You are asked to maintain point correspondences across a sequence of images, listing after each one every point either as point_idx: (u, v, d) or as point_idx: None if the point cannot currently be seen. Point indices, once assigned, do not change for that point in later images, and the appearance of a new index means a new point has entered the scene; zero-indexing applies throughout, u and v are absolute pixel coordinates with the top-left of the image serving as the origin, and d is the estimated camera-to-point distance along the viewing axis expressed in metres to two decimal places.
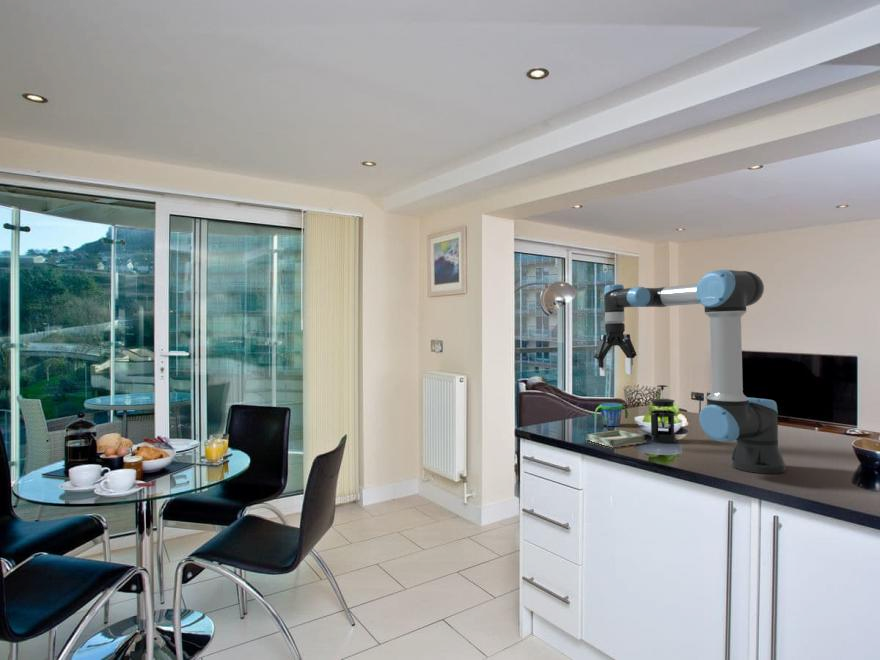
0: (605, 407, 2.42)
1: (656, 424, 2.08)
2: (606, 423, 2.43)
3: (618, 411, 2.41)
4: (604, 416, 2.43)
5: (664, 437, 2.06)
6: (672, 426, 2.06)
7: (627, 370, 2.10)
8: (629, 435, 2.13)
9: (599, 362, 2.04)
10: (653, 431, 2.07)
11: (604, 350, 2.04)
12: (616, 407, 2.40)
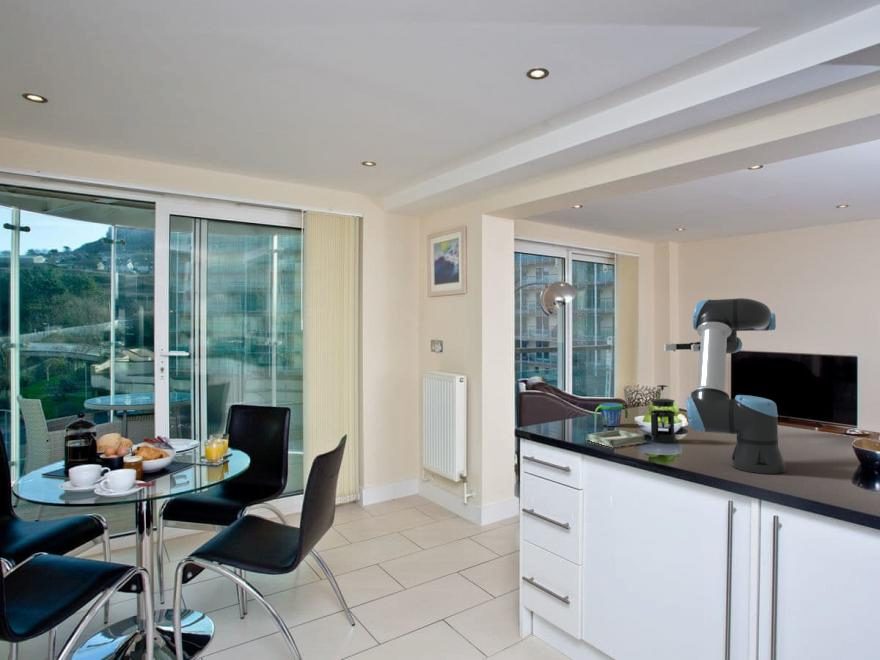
0: (605, 407, 2.42)
1: (656, 424, 2.08)
2: (606, 423, 2.43)
3: (618, 411, 2.41)
4: (604, 416, 2.43)
5: (664, 437, 2.06)
6: (672, 426, 2.06)
7: None
8: (629, 435, 2.13)
9: None
10: (653, 431, 2.07)
11: None
12: (616, 407, 2.40)
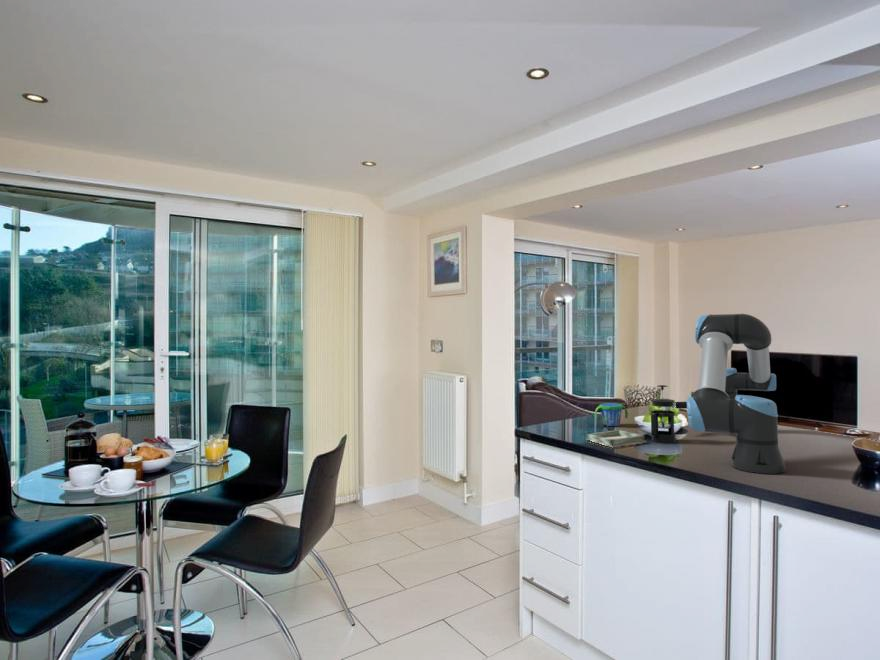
0: (605, 407, 2.42)
1: (656, 424, 2.08)
2: (606, 423, 2.43)
3: (618, 411, 2.41)
4: (604, 416, 2.43)
5: (664, 437, 2.06)
6: (672, 426, 2.06)
7: None
8: (629, 435, 2.13)
9: None
10: (653, 431, 2.07)
11: None
12: (616, 407, 2.40)
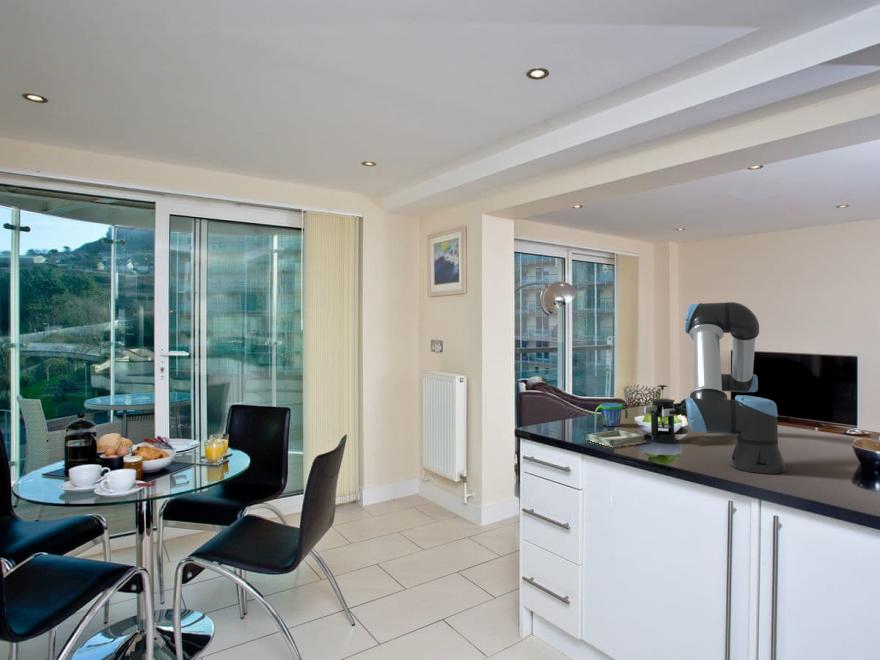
0: (605, 407, 2.42)
1: (656, 424, 2.08)
2: (606, 423, 2.43)
3: (618, 411, 2.41)
4: (604, 416, 2.43)
5: (664, 437, 2.06)
6: (672, 426, 2.06)
7: None
8: (629, 435, 2.13)
9: None
10: (653, 431, 2.07)
11: None
12: (616, 407, 2.40)
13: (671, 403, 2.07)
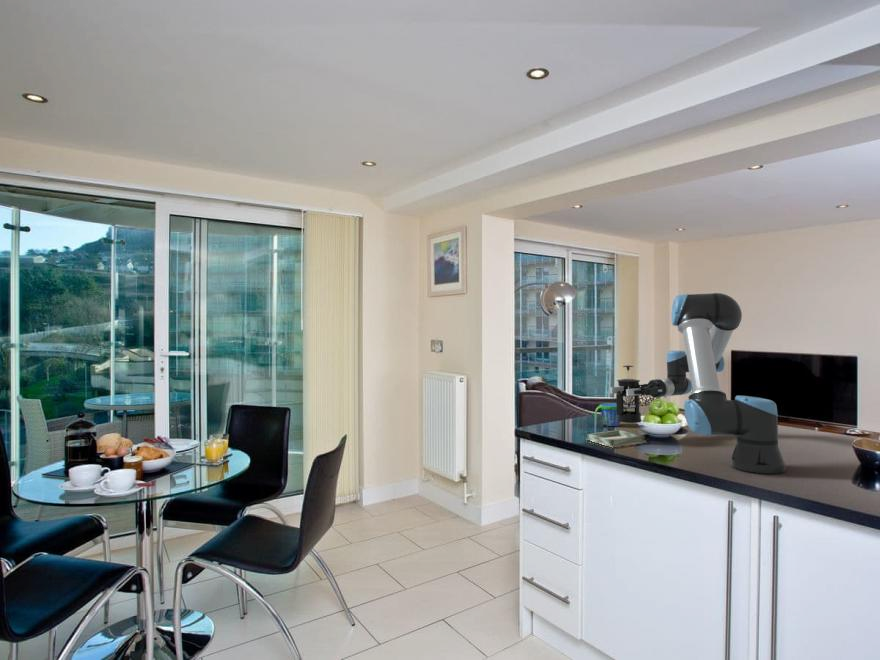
0: (605, 407, 2.42)
1: (621, 404, 2.09)
2: (606, 423, 2.43)
3: None
4: (604, 416, 2.43)
5: (629, 417, 2.07)
6: (637, 406, 2.07)
7: None
8: (629, 435, 2.13)
9: None
10: (618, 411, 2.08)
11: None
12: (616, 407, 2.40)
13: (636, 383, 2.08)
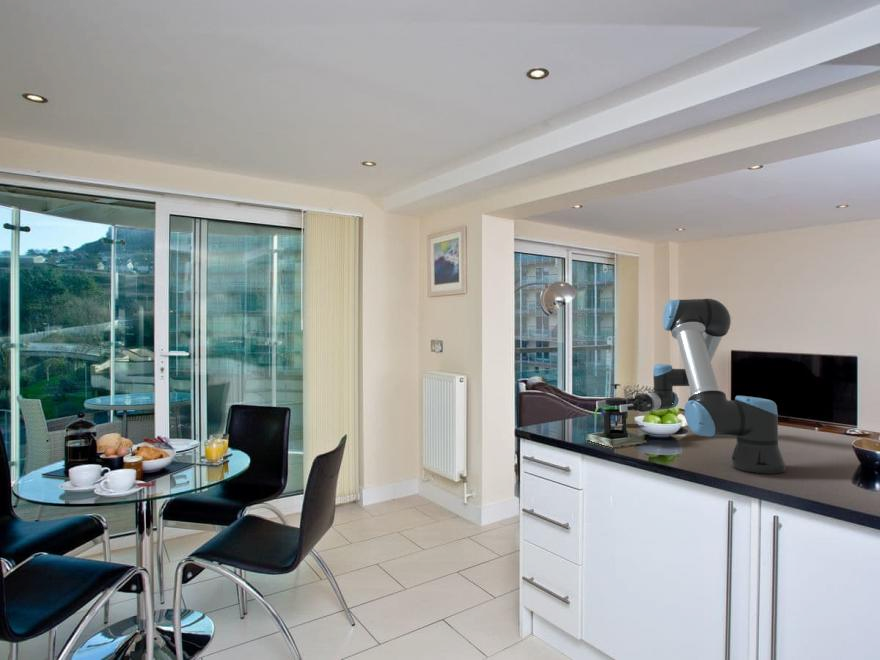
0: (605, 407, 2.42)
1: (609, 423, 2.08)
2: None
3: None
4: None
5: (616, 436, 2.06)
6: (624, 425, 2.06)
7: None
8: (629, 435, 2.13)
9: None
10: (605, 430, 2.07)
11: None
12: (616, 407, 2.40)
13: (623, 402, 2.07)
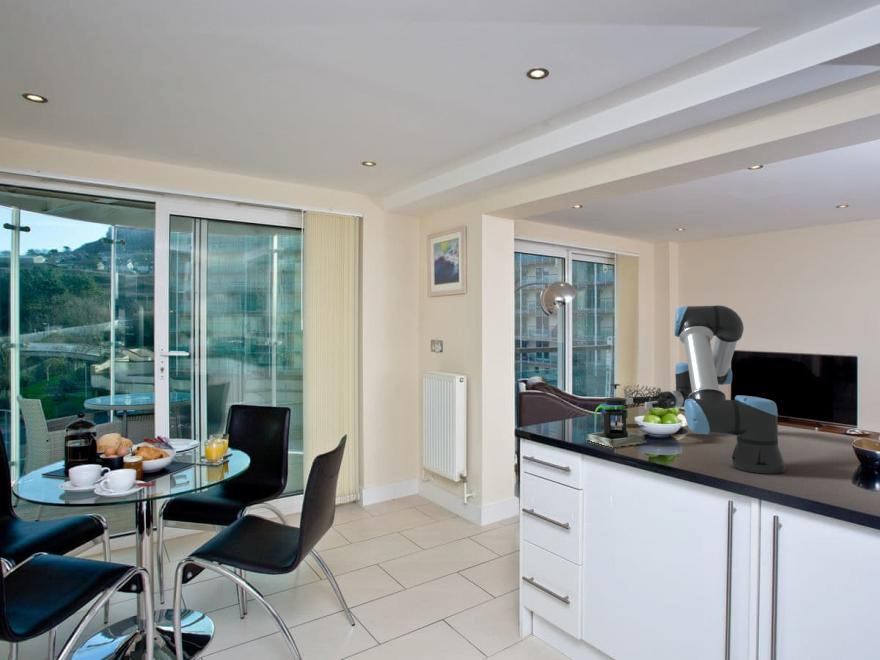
0: (605, 407, 2.42)
1: (609, 423, 2.08)
2: None
3: None
4: None
5: (616, 436, 2.06)
6: (624, 425, 2.06)
7: None
8: (629, 435, 2.13)
9: None
10: (605, 430, 2.07)
11: None
12: (616, 407, 2.40)
13: (623, 402, 2.07)
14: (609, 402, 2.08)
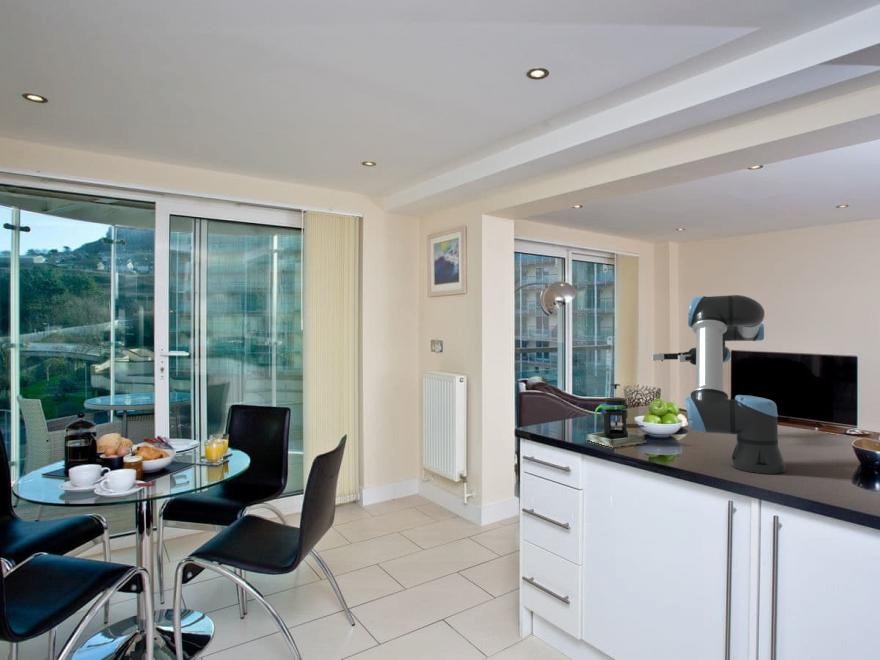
0: (605, 407, 2.42)
1: (609, 423, 2.08)
2: None
3: None
4: None
5: (616, 436, 2.06)
6: (624, 425, 2.06)
7: None
8: (629, 435, 2.13)
9: None
10: (605, 430, 2.07)
11: None
12: (616, 407, 2.40)
13: (623, 402, 2.07)
14: (609, 402, 2.08)
